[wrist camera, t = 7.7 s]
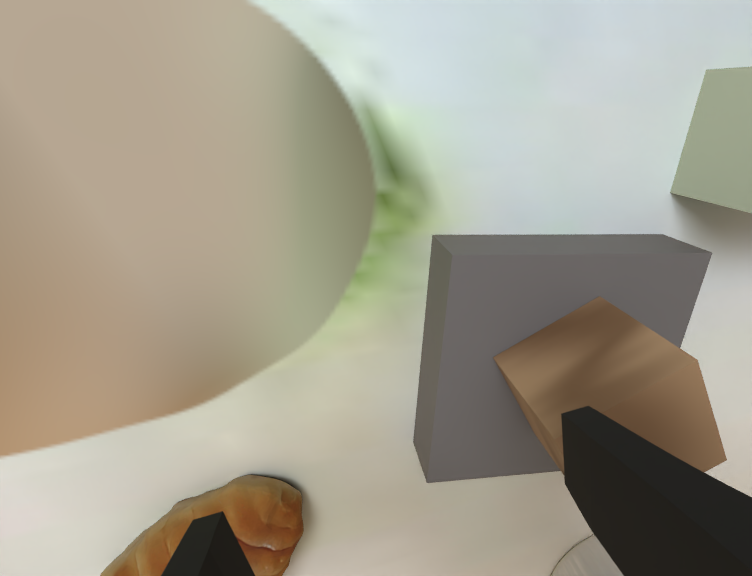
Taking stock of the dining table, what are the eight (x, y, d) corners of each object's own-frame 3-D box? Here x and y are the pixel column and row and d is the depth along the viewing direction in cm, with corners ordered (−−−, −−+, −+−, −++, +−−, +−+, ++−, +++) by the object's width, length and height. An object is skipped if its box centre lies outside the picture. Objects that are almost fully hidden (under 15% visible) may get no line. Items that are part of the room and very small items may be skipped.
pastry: (226, 434, 20) (211, 506, 16) (339, 500, 22) (348, 575, 19) (98, 563, 21) (59, 654, 18) (217, 611, 24) (205, 698, 20)
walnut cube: (599, 296, 17) (697, 359, 13) (632, 380, 19) (726, 460, 14) (492, 357, 17) (554, 439, 13) (534, 434, 19) (600, 527, 15)
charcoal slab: (654, 231, 20) (712, 252, 17) (600, 420, 23) (640, 463, 21) (428, 231, 18) (452, 255, 15) (410, 434, 22) (426, 482, 19)
